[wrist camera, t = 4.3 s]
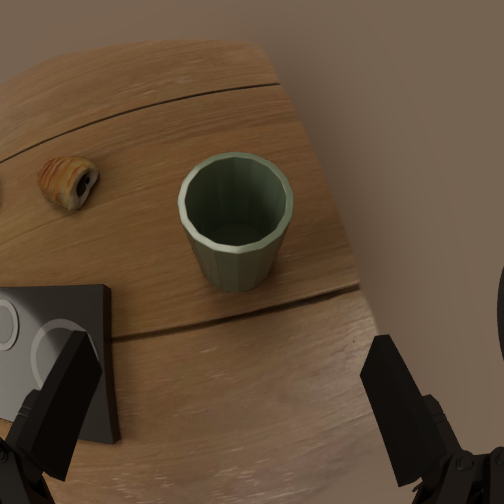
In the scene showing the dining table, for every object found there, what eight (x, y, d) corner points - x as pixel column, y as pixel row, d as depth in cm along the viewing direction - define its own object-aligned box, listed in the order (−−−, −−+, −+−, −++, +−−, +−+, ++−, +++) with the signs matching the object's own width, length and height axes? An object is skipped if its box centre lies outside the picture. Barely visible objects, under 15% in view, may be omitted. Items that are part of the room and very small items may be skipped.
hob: (111, 288, 28) (102, 283, 26) (120, 439, 23) (112, 445, 21) (-11, 290, 27) (-22, 286, 25) (-8, 410, 22) (-19, 411, 20)
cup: (285, 244, 31) (311, 182, 20) (249, 306, 29) (257, 275, 17) (224, 210, 32) (218, 137, 20) (185, 268, 30) (155, 216, 18)
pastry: (34, 197, 32) (19, 183, 28) (59, 156, 34) (47, 140, 30) (79, 216, 31) (65, 201, 27) (106, 170, 33) (95, 152, 29)
